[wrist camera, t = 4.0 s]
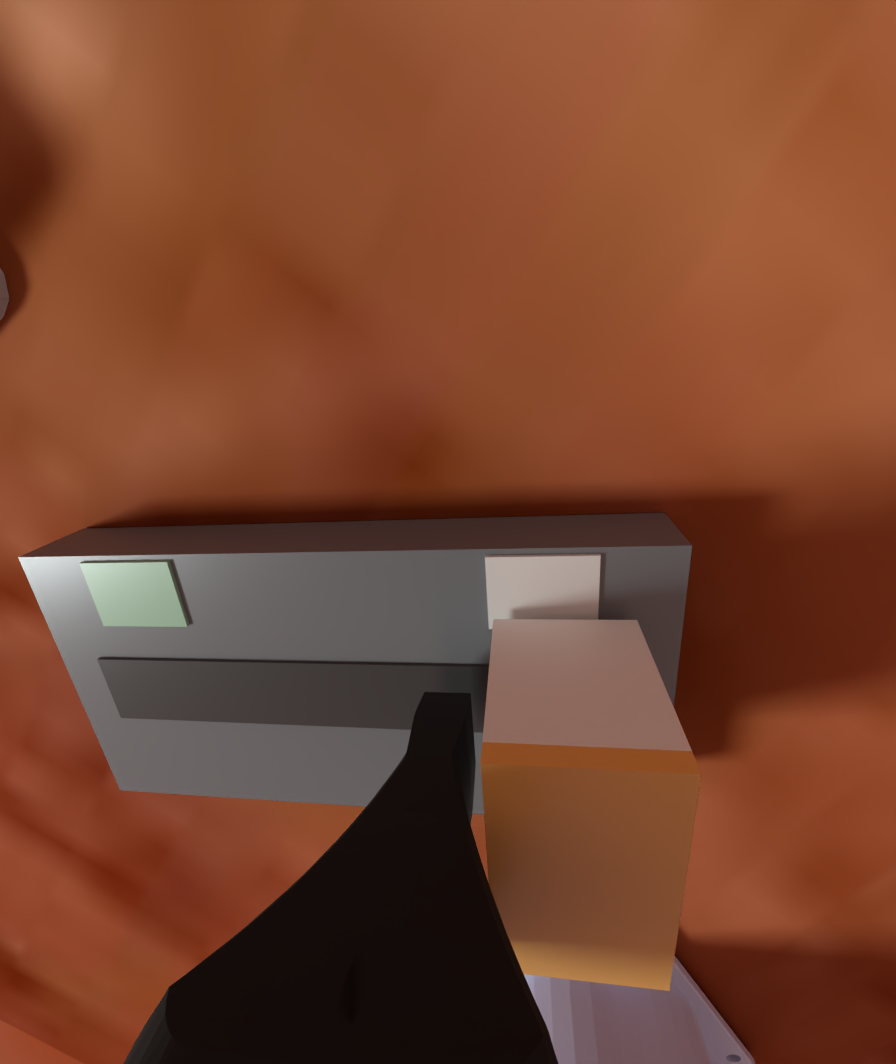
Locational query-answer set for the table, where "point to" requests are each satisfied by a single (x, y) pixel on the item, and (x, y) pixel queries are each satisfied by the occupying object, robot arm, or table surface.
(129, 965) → the table surface
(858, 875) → the table surface
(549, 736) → the knob
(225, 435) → the table surface
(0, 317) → the emergency button
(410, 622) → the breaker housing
